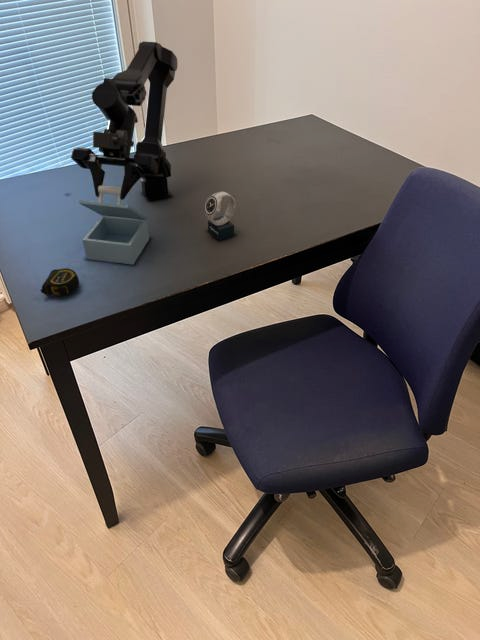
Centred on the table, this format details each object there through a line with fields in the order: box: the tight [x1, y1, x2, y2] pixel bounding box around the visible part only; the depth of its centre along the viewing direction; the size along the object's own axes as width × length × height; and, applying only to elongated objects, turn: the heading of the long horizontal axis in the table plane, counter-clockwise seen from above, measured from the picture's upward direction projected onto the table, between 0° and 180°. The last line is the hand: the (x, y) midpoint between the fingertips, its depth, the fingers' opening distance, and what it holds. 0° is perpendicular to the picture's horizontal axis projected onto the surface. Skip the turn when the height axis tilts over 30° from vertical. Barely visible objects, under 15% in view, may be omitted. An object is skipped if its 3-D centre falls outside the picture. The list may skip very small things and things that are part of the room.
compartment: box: [82, 215, 150, 266], centre depth 115 cm, size 12×12×5 cm
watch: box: [203, 191, 237, 241], centre depth 119 cm, size 6×8×11 cm
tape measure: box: [40, 267, 80, 297], centre depth 103 cm, size 7×7×4 cm
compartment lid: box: [78, 185, 148, 221], centre depth 111 cm, size 12×12×5 cm
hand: (109, 197), depth 108 cm, fingers closed on compartment lid, 5 cm apart
